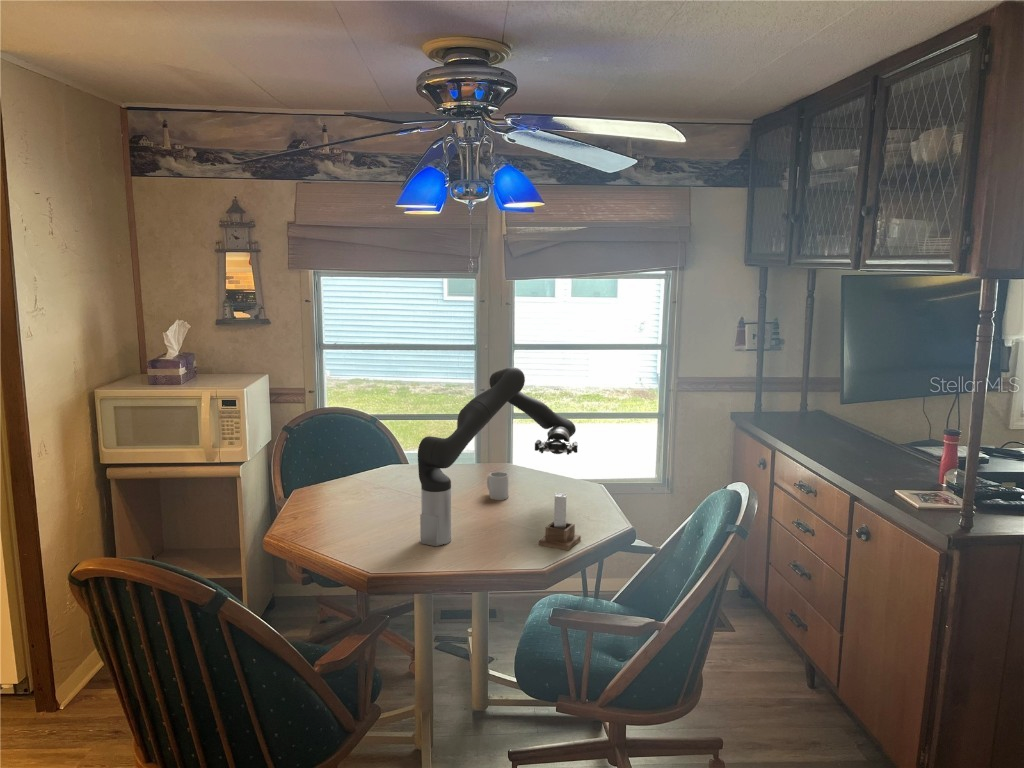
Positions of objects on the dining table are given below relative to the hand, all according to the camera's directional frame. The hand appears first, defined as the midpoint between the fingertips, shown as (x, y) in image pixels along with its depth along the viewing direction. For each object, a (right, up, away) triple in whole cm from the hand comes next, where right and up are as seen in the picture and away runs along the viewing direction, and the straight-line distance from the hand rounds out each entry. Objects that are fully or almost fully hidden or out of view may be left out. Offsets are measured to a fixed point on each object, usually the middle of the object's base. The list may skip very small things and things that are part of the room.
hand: (554, 450), depth 244 cm
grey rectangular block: (+1, -27, -8) cm, 28 cm away
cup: (-20, -21, +39) cm, 48 cm away
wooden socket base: (+1, -28, -8) cm, 29 cm away
